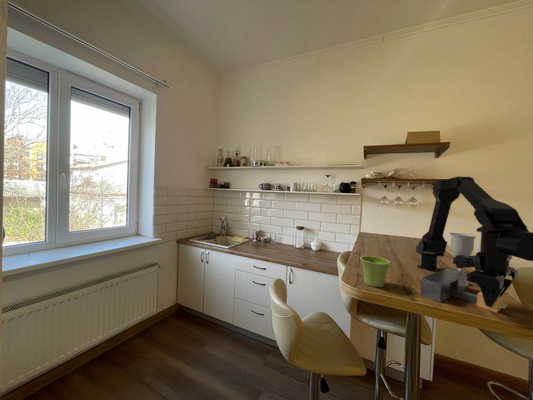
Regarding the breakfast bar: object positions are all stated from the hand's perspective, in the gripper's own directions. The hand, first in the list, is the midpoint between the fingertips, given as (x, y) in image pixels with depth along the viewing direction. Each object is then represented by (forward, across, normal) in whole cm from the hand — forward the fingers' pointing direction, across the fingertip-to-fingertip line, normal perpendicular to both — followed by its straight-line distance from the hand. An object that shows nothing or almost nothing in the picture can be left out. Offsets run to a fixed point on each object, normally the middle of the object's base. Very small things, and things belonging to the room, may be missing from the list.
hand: (491, 304), depth 60 cm
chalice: (+1, -15, -11) cm, 19 cm away
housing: (+1, 0, -11) cm, 11 cm away
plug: (+1, 0, -6) cm, 6 cm away
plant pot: (+1, +16, -25) cm, 30 cm away
